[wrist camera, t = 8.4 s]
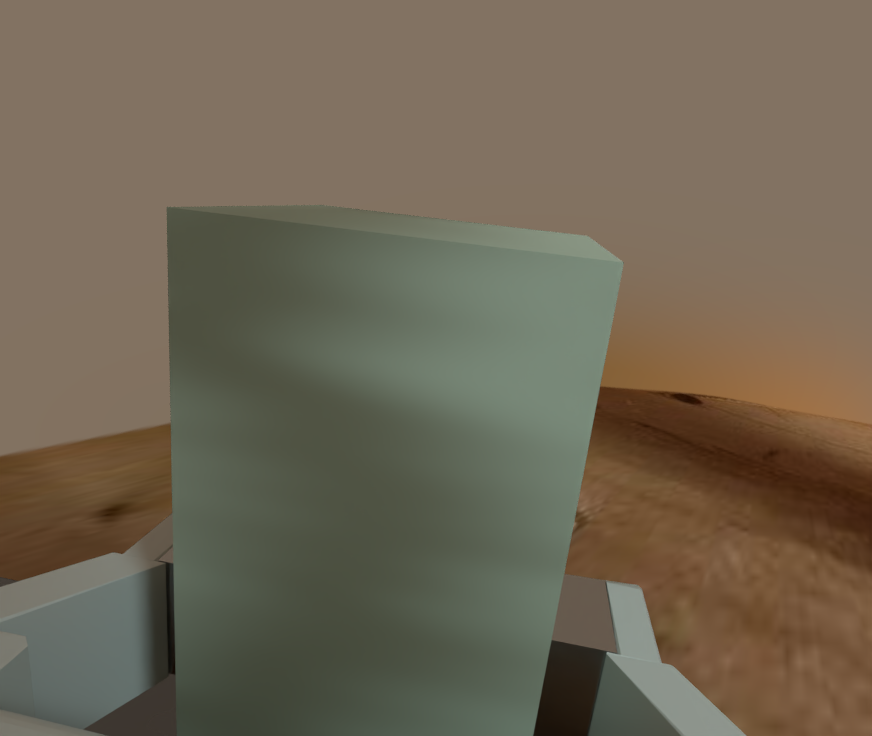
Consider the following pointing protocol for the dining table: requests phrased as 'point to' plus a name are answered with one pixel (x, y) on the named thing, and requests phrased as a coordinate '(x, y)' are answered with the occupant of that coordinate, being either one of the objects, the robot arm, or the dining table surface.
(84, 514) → the dining table surface
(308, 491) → the peg
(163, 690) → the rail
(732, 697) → the dining table surface
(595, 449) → the dining table surface
